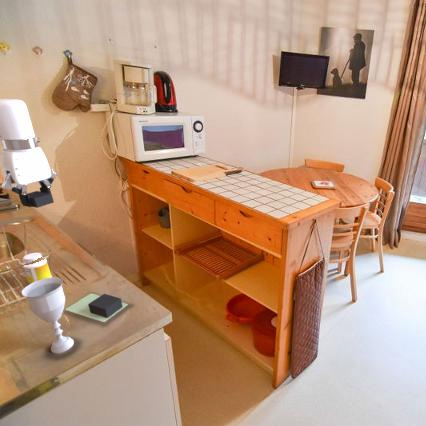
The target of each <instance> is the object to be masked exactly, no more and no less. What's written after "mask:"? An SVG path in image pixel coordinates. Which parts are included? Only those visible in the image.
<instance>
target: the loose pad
mask: <svg viewBox="0 0 426 426" xmlns="http://www.w3.org/2000/svg"><path fill="white" fill-rule="evenodd" d="M27 194H29V195H30V197H31V201H32V204H33V206H32V207H31V208H36V209H38V208H41V207H45V206H47V205H51V204H54V203H55V202H54V197H53V194H52V192H51V193H45V192H40V190H36V191H32V192H27ZM21 205H22V206H23V204H22V203H21Z"/></svg>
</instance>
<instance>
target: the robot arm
mask: <svg viewBox="0 0 426 426" xmlns="http://www.w3.org/2000/svg"><path fill="white" fill-rule="evenodd" d="M40 142H41V139H40V137H36V134H35V130H34V128H33V124H32V120H31V116H30V113H29V109H28V106H27V104H26V103H25V102H24V101H23V100H21V99H19V98H0V143H1V146H2V148H3V149H2V150H0V165H1V169H2V174H3V178H4V180H3V182H2V184H1V188H2V189H5V190H8V191H10V192H12V193H15V194H16V195H18V197H19V201H20V203H21V205H22V204H23V205H22V206H24V207H27V208H28V207H29V208H33V207H32V206H33V204H32V201H31V197H30V195H29V194H28V185H30V184H34V183H38V184H39V186H40V187H39V191H40V192H45V193H51V194H52V192H51V188H52V184H53V182H54V181H55V179H56V178H57V176H58V173H57V172H55V170H53V169H51V167H50V164H49V162H48V159H47V157H46V155H45V153H44V151H43V149H42V147H41V146H39V144H38V143H40ZM13 184H14V186H13Z"/></svg>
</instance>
